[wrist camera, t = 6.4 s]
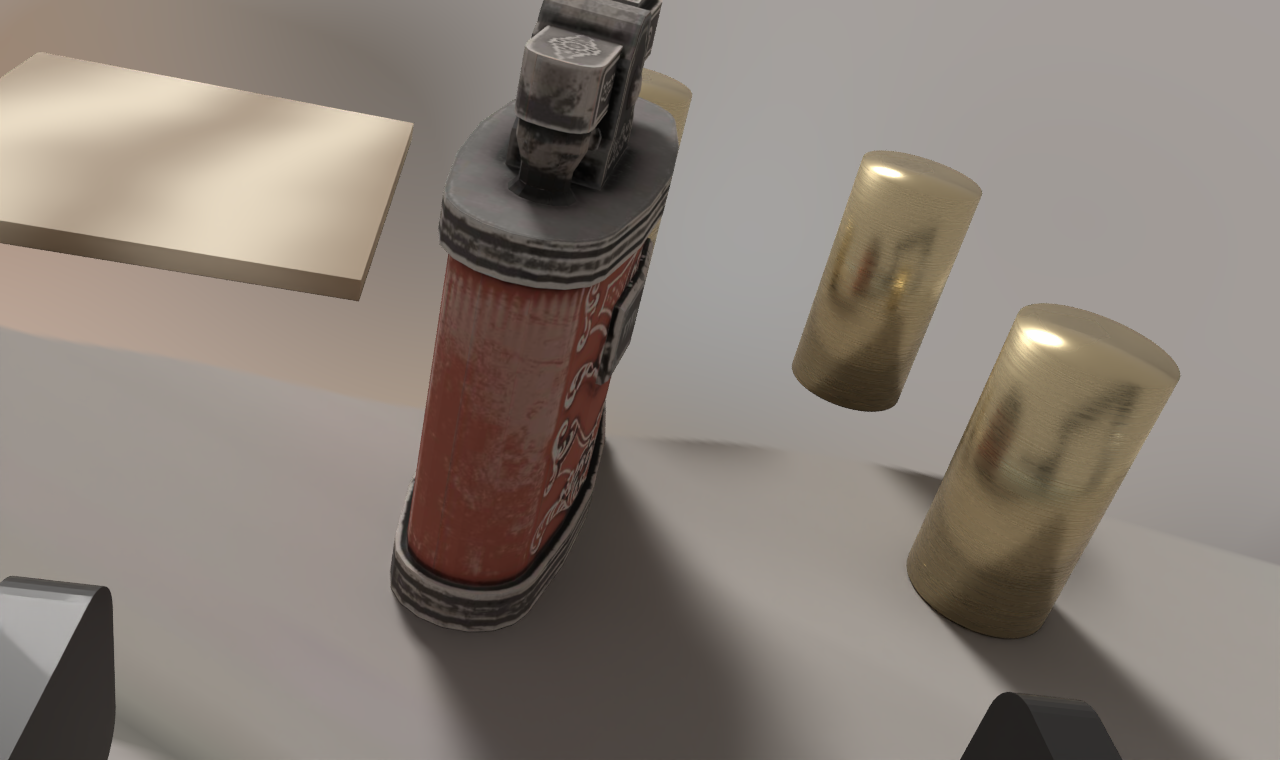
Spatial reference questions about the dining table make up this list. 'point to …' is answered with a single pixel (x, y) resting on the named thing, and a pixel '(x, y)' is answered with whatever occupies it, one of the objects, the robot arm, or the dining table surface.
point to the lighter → (534, 315)
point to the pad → (193, 176)
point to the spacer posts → (1007, 409)
